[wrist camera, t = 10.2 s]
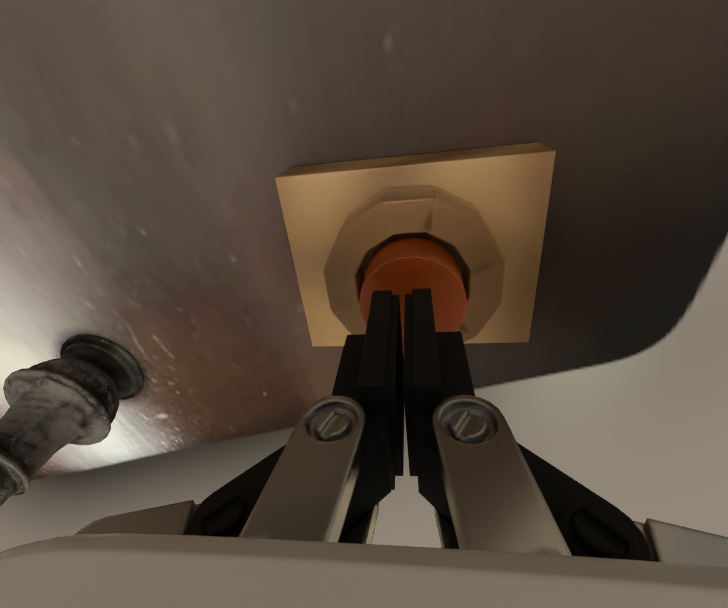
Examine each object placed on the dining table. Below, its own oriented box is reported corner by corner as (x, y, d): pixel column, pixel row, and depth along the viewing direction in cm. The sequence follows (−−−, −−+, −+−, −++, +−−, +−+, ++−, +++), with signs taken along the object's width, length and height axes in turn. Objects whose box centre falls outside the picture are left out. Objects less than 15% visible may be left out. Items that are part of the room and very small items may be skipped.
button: (462, 233, 13) (468, 253, 11) (459, 320, 14) (465, 347, 13) (359, 240, 13) (352, 259, 12) (369, 323, 15) (365, 349, 13)
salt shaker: (112, 322, 21) (-165, 540, 11) (165, 395, 24) (-17, 623, 14) (37, 339, 23) (-270, 545, 12) (95, 406, 25) (-117, 620, 15)
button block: (537, 141, 14) (577, 159, 11) (516, 316, 18) (541, 369, 15) (290, 166, 16) (256, 188, 12) (321, 322, 20) (302, 371, 16)
